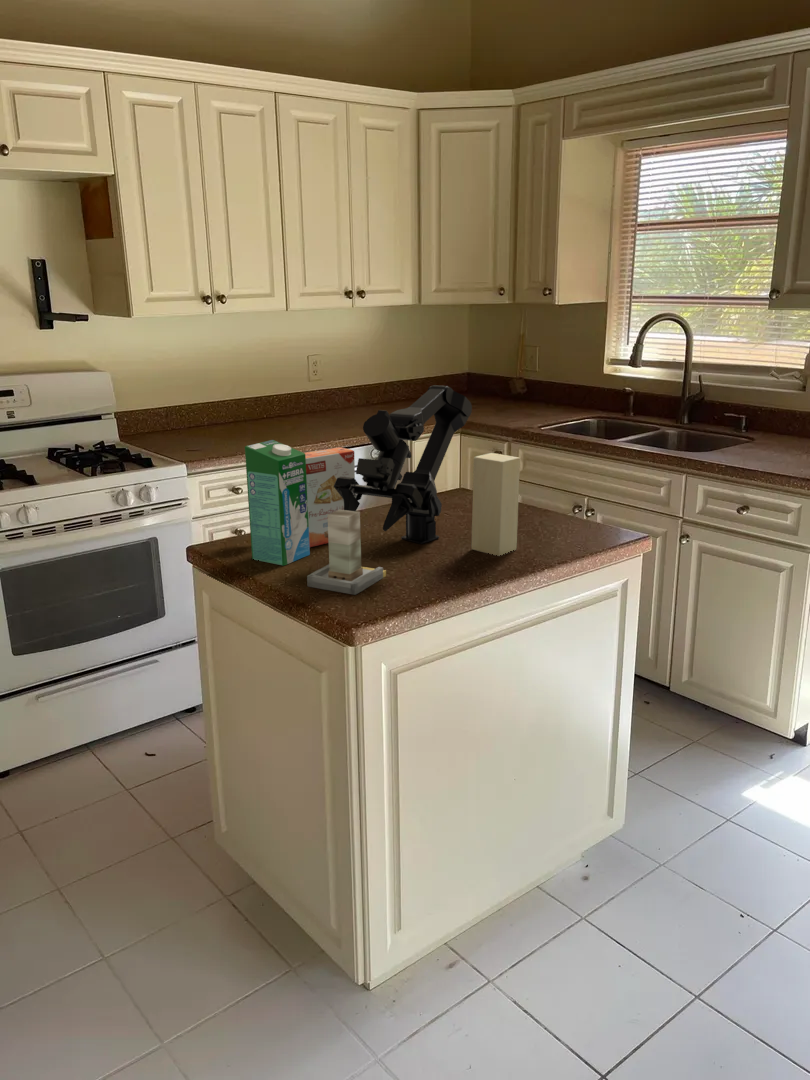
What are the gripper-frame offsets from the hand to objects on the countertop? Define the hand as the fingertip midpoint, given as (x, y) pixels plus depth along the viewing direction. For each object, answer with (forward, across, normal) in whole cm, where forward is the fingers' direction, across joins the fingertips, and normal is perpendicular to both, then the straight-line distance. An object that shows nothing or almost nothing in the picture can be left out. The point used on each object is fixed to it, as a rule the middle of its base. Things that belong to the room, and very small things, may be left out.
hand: (364, 527), depth 176 cm
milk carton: (+7, -21, +6) cm, 23 cm away
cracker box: (-4, -19, +17) cm, 26 cm away
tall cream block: (-11, +19, +25) cm, 33 cm away
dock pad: (+12, 0, +1) cm, 12 cm away
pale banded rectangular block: (+11, 0, 0) cm, 11 cm away
